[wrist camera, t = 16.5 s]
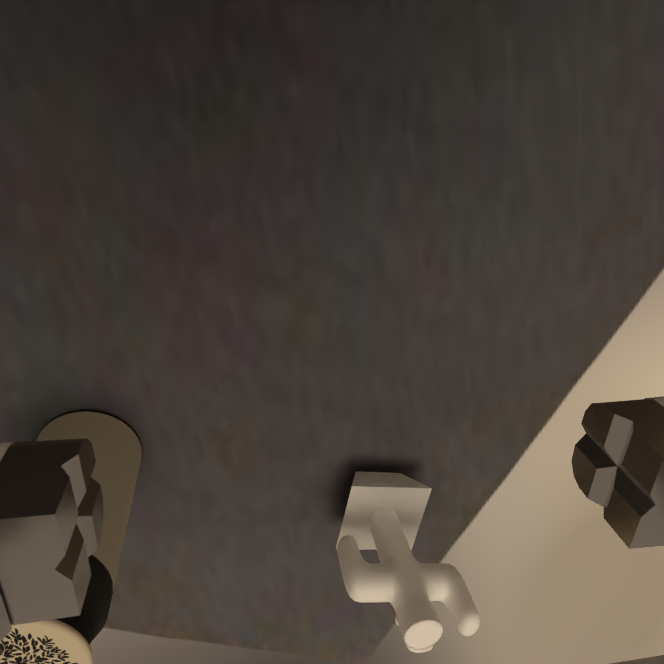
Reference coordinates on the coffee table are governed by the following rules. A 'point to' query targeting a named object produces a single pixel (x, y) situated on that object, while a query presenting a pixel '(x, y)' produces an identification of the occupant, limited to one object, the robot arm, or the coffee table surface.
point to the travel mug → (117, 490)
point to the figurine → (399, 559)
